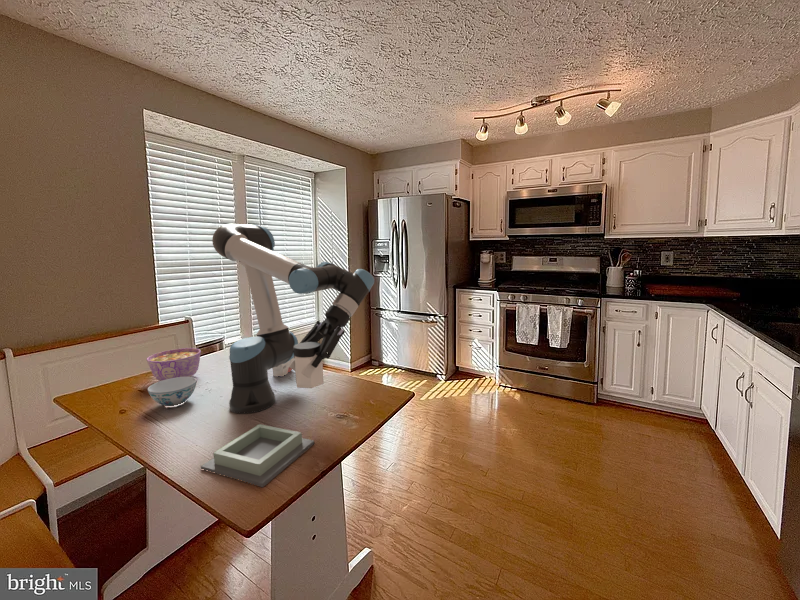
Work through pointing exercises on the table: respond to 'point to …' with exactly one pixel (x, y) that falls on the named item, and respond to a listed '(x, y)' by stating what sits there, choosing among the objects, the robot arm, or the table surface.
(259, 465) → the green and grey tray
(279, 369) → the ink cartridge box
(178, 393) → the chinaware
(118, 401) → the table surface
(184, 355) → the bowl of food
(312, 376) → the jar
